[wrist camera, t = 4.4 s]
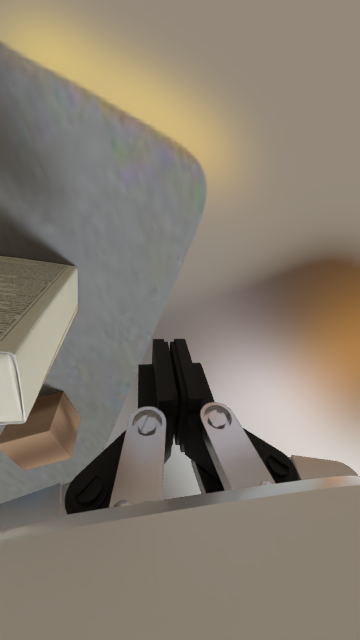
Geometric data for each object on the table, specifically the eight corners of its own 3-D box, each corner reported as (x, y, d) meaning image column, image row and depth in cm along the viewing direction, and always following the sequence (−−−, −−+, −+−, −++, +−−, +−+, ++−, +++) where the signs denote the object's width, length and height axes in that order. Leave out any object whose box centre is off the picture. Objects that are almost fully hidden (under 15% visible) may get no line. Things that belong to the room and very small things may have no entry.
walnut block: (19, 401, 25) (-5, 444, 21) (63, 390, 25) (49, 430, 21) (41, 427, 27) (23, 470, 23) (81, 416, 28) (71, 457, 23)
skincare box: (3, 302, 19) (-155, 434, 9) (-7, 251, 17) (-229, 343, 7) (81, 310, 21) (26, 428, 10) (80, 263, 19) (12, 353, 8)
